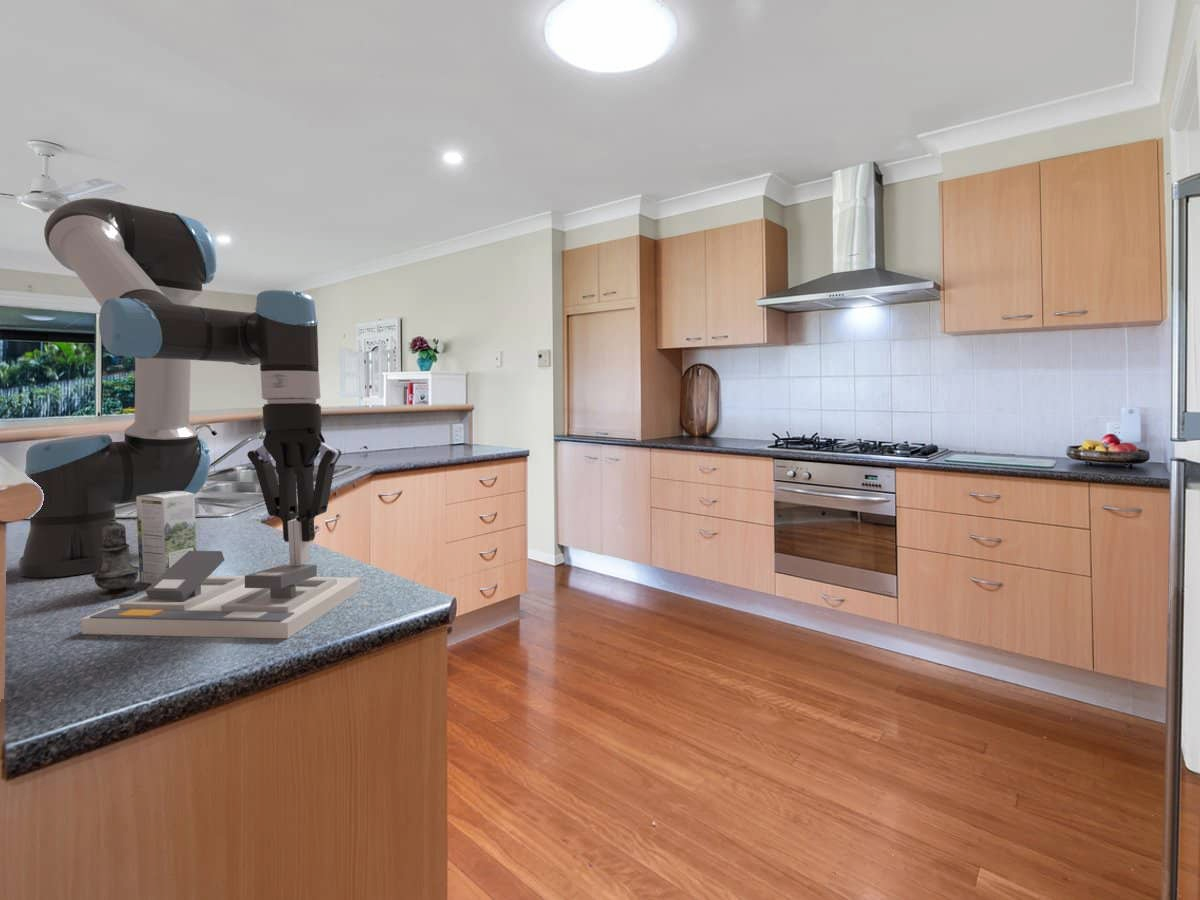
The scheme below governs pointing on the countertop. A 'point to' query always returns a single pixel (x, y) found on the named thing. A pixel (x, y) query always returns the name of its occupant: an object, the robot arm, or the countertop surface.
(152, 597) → the switch
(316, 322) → the robot arm
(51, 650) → the countertop surface
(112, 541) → the grey tiered stone piece
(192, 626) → the switch panel
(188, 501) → the syrup box
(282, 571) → the switch
